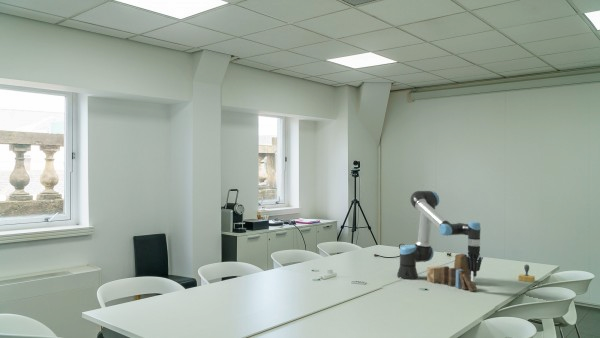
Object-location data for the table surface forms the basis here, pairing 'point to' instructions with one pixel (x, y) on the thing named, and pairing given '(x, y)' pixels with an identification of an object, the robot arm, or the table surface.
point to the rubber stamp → (526, 275)
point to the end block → (434, 274)
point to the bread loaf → (461, 263)
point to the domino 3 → (458, 279)
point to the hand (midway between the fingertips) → (473, 280)
